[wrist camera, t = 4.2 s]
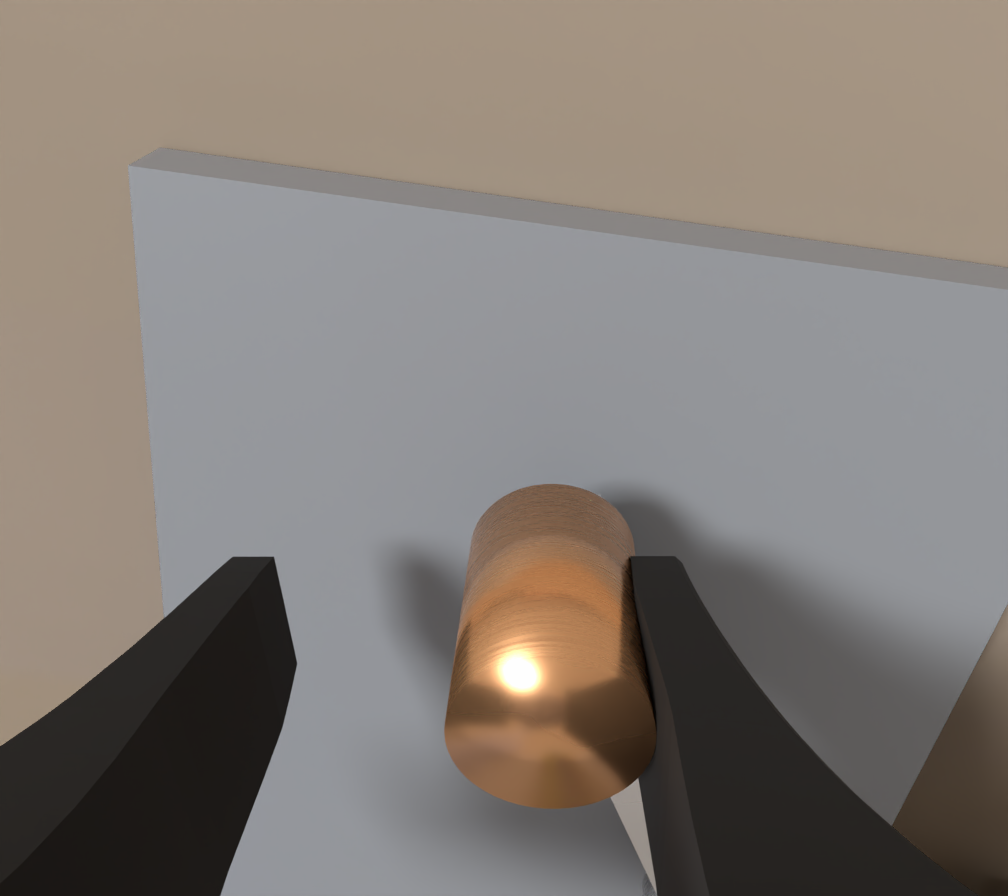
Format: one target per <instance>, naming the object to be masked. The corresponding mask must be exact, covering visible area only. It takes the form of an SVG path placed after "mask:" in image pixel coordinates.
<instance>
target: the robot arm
mask: <svg viewBox="0 0 1008 896" xmlns="http://www.w3.org/2000/svg"><path fill="white" fill-rule="evenodd" d="M630 559H631V569H632V579H633V589H634V599H635V607H636V612H637V617H638V623H639V628H640V633H641V639H642V644H643V650H644V655H645V660H646V666H647V672H648V678H649V684H650V690H651V696H652V702H653V709H654V718H655V726H656V746H655V750H654V754H653V756H652V758H651V761H650V763H649V764H648V766H647V767H646V769H645V770H644V772H643V773H642V774H641V775H640V776H639V777H638V779H639V785H640V791H641V798H642V804H643V810H644V816H645V822H646V828H647V834H648V840H649V846H650V852H651V858H652V864H653V870H654V876H655V882H656V890H657V896H978V895H977V894H976V893H974V892H973V891H971V890H970V889H968V888H967V887H966V886H964V885H963V884H962V883H960V882H959V881H958V880H956V879H955V878H954V877H952V876H951V875H950V874H949V873H947V872H946V871H945V870H944V869H942V868H941V867H940V866H939V865H937V864H936V863H935V862H933V861H932V860H931V859H930V858H928V857H927V856H926V855H925V854H923V853H922V852H921V851H920V850H918V849H917V848H916V847H915V846H914V845H912V844H911V843H910V842H909V841H908V840H907V839H906V838H905V837H903V836H902V835H901V834H900V833H899V832H898V831H897V830H896V829H894V828H893V827H892V826H891V825H890V824H889V823H888V822H887V821H885V820H884V819H883V818H882V817H881V816H880V815H879V814H878V813H876V812H875V811H874V810H873V809H872V808H871V807H870V806H869V805H867V804H866V803H865V802H864V801H863V800H862V799H861V798H860V797H859V796H858V795H856V794H855V793H854V792H853V791H852V790H851V789H850V788H849V787H848V786H847V785H846V784H845V783H844V782H843V781H842V780H841V779H840V778H839V777H838V776H837V775H836V774H835V773H834V772H833V771H832V770H831V769H830V768H829V767H828V766H827V765H826V764H825V763H824V761H823V760H822V759H821V758H820V757H819V756H818V755H817V754H816V753H815V752H814V751H813V750H812V748H811V747H810V746H809V745H808V744H807V743H806V742H805V741H804V740H803V739H802V738H801V737H800V735H799V734H798V733H797V732H796V731H795V730H794V728H793V727H792V726H791V725H790V724H789V723H788V721H787V720H786V719H785V718H784V717H783V715H782V714H781V713H780V712H779V711H778V709H777V708H776V707H775V706H774V704H773V703H772V702H771V701H770V699H769V698H768V697H767V696H766V694H765V693H764V692H763V690H762V689H761V688H760V687H759V685H758V684H757V683H756V681H755V680H754V679H753V677H752V676H751V675H750V673H749V672H748V671H747V669H746V668H745V667H744V665H743V664H742V662H741V661H740V659H739V658H738V656H737V655H736V653H735V652H734V651H733V649H732V648H731V646H730V645H729V643H728V642H727V640H726V639H725V638H724V636H723V635H722V633H721V631H720V630H719V628H718V627H717V625H716V624H715V622H714V620H713V619H712V617H711V616H710V614H709V612H708V611H707V609H706V607H705V606H704V604H703V602H702V600H701V599H700V597H699V595H698V593H697V592H696V590H695V588H694V586H693V584H692V582H691V580H690V578H689V576H688V574H687V572H686V570H685V568H684V566H683V563H682V562H681V561H680V560H679V559H678V558H676V557H675V556H630ZM296 667H297V659H296V655H295V650H294V646H293V641H292V637H291V632H290V627H289V623H288V618H287V614H286V609H285V604H284V600H283V595H282V591H281V586H280V582H279V577H278V572H277V568H276V563H275V559H274V557H232V558H231V559H229V560H228V561H227V562H226V563H225V564H223V565H222V566H221V567H220V568H219V569H218V570H217V571H215V572H214V573H213V574H212V575H211V576H210V577H209V578H208V579H207V580H206V581H204V582H203V583H202V584H201V585H200V586H199V587H198V588H197V589H196V590H195V591H194V592H192V593H191V594H190V595H189V596H188V597H187V598H186V599H185V600H184V601H183V602H182V603H180V604H179V605H178V606H177V607H176V608H175V609H174V610H173V611H172V612H171V613H169V614H168V615H167V616H166V617H165V618H164V619H163V620H162V621H160V622H159V623H158V624H157V625H156V626H155V627H154V628H153V629H151V630H150V631H149V632H148V633H147V634H146V635H145V636H144V637H142V638H141V639H140V640H139V641H138V642H137V643H136V644H135V645H133V646H132V647H131V648H130V649H129V650H127V651H126V652H125V653H124V654H123V655H121V656H120V657H119V658H118V659H116V660H115V661H114V662H113V663H111V664H110V665H109V666H108V667H107V668H105V669H104V670H103V671H102V672H100V673H99V674H98V675H97V676H95V677H94V678H93V679H92V680H91V681H89V682H88V683H87V684H86V685H84V686H83V687H82V688H81V689H79V690H78V691H77V692H76V693H75V694H73V695H72V696H71V697H69V698H68V699H67V700H65V701H64V702H63V703H61V704H60V705H59V706H57V707H56V708H55V709H53V710H52V711H51V712H49V713H48V714H46V715H45V716H44V717H42V718H41V719H40V720H38V721H37V722H35V723H34V724H32V725H31V726H29V727H28V728H26V729H25V730H24V731H22V732H21V733H19V734H18V735H16V736H15V737H13V738H12V739H10V740H9V741H8V742H6V743H5V744H3V745H2V746H0V896H220V895H221V892H222V889H223V886H224V883H225V880H226V877H227V874H228V871H229V869H230V866H231V863H232V861H233V858H234V855H235V853H236V850H237V848H238V845H239V842H240V840H241V837H242V834H243V832H244V829H245V827H246V824H247V821H248V819H249V816H250V813H251V811H252V808H253V806H254V803H255V800H256V798H257V795H258V792H259V790H260V787H261V785H262V782H263V779H264V777H265V774H266V771H267V769H268V766H269V763H270V760H271V758H272V755H273V752H274V750H275V747H276V744H277V742H278V739H279V736H280V733H281V730H282V728H283V723H284V719H285V715H286V711H287V707H288V703H289V699H290V695H291V690H292V686H293V681H294V676H295V672H296Z"/></svg>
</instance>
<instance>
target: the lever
mask: <svg viewBox="0 0 1008 896" xmlns="http://www.w3.org/2000/svg"><path fill="white" fill-rule="evenodd" d="M630 556H635V549H634V541H633V537H632V533H631V531H630V528H629V526H628V524H627V522H626V521H625V519H624V518H623V516H622V515H621V514H620V513H619V512H618V511H617V510H616V508H615V507H613V506H612V505H611V504H610V503H609V502H607V501H606V500H604V499H603V498H602V495H601V494H599V495H596V494H594V493H592V492H590V491H587V490H584V489H581V488H578V487H574V486H569V485H562V484H541V485H533V486H529V487H525V488H521V489H519V490H516V491H513V492H511V493H509V494H507V495H505V496H503V497H502V498H500V499H499V500H497V501H496V502H495V503H494V504H492V505H491V506H490V507H489V508H488V509H487V510H486V511H485V513H484V514H483V515H482V516H481V518H480V519H479V521H478V523H477V524H476V527H475V529H474V531H473V535H472V539H471V545H470V552H469V559H468V566H467V573H466V580H465V587H464V593H463V600H462V607H461V614H460V621H459V628H458V635H457V642H456V649H455V656H454V663H453V670H452V676H451V683H450V690H449V697H448V704H447V711H446V718H445V727H444V735H445V743H446V746H447V750H448V752H449V754H450V756H451V759H452V760H453V762H454V763H455V765H456V766H457V768H458V769H459V770H460V771H461V772H462V774H463V775H464V776H465V777H466V778H467V779H469V780H470V781H471V782H472V783H473V784H475V785H476V786H478V787H479V788H481V789H482V790H484V791H485V792H487V793H489V794H491V795H493V796H495V797H497V798H500V799H502V800H505V801H508V802H511V803H515V804H518V805H523V806H528V807H534V808H543V809H563V808H573V807H580V806H585V805H589V804H593V803H596V802H599V801H602V800H604V799H607V798H609V797H611V799H612V802H613V804H614V806H615V808H616V810H617V812H618V814H619V816H620V818H621V821H622V823H623V825H624V827H625V829H626V831H627V833H628V835H629V837H630V839H631V842H632V844H633V846H634V848H635V850H636V852H637V854H638V856H639V858H640V861H641V863H642V865H643V867H644V869H645V871H646V874H645V876H644V878H643V882H642V896H657V890H656V882H655V876H654V870H653V864H652V858H651V852H650V846H649V840H648V834H647V828H646V822H645V816H644V810H643V804H642V798H641V791H640V785H639V779H638V777H639V776H640V775H641V774H642V773H643V772H644V770H645V769H646V767H647V766H648V764H649V763H650V761H651V758H652V756H653V754H654V750H655V746H656V726H655V718H654V709H653V702H652V696H651V690H650V684H649V678H648V672H647V666H646V660H645V655H644V650H643V644H642V639H641V633H640V628H639V623H638V617H637V612H636V607H635V599H634V589H633V579H632V569H631V559H630Z"/></svg>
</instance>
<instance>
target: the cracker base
mask: <svg viewBox="0 0 1008 896" xmlns="http://www.w3.org/2000/svg"><path fill="white" fill-rule="evenodd" d="M128 172H129V185H130V197H131V210H132V222H133V235H134V247H135V260H136V272H137V285H138V297H139V310H140V323H141V335H142V348H143V360H144V373H145V385H146V398H147V410H148V423H149V436H150V448H151V461H152V473H153V486H154V498H155V511H156V523H157V536H158V548H159V561H160V574H161V586H162V599H163V611H164V618H165V617H166V616H167V615H168V614H169V613H171V612H172V611H173V610H174V609H175V608H176V607H177V606H178V605H179V604H180V603H182V602H183V601H184V600H185V599H186V598H187V597H188V596H189V595H190V594H191V593H192V592H194V591H195V590H196V589H197V588H198V587H199V586H200V585H201V584H202V583H203V582H204V581H206V580H207V579H208V578H209V577H210V576H211V575H212V574H213V573H214V572H215V571H217V570H218V569H219V568H220V567H221V566H222V565H223V564H225V563H226V562H227V561H228V560H229V559H231V558H232V557H274V559H275V563H276V568H277V572H278V577H279V582H280V586H281V591H282V595H283V600H284V604H285V609H286V614H287V618H288V623H289V627H290V632H291V637H292V641H293V646H294V650H295V655H296V659H297V667H296V672H295V676H294V681H293V686H292V690H291V695H290V699H289V703H288V707H287V711H286V715H285V719H284V723H283V728H282V730H281V733H280V736H279V739H278V742H277V744H276V747H275V750H274V752H273V755H272V758H271V760H270V763H269V766H268V769H267V771H266V774H265V777H264V779H263V782H262V785H261V787H260V790H259V792H258V795H257V798H256V800H255V803H254V806H253V808H252V811H251V813H250V816H249V819H248V821H247V824H246V827H245V829H244V832H243V834H242V837H241V840H240V842H239V845H238V848H237V850H236V853H235V855H234V858H233V861H232V863H231V866H230V869H229V871H228V874H227V877H226V880H225V883H224V886H223V889H222V892H221V895H220V896H642V882H643V878H644V876H645V874H646V871H645V869H644V867H643V865H642V863H641V861H640V858H639V856H638V854H637V852H636V850H635V848H634V846H633V844H632V842H631V839H630V837H629V835H628V833H627V831H626V829H625V827H624V825H623V823H622V821H621V818H620V816H619V814H618V812H617V810H616V808H615V806H614V804H613V802H612V799H611V797H609V798H607V799H604V800H602V801H599V802H596V803H593V804H589V805H585V806H580V807H573V808H563V809H543V808H534V807H528V806H523V805H518V804H515V803H511V802H508V801H505V800H502V799H500V798H497V797H495V796H493V795H491V794H489V793H487V792H485V791H484V790H482V789H481V788H479V787H478V786H476V785H475V784H473V783H472V782H471V781H470V780H469V779H467V778H466V777H465V776H464V775H463V774H462V772H461V771H460V770H459V769H458V768H457V766H456V765H455V763H454V762H453V760H452V759H451V756H450V754H449V752H448V750H447V746H446V743H445V735H444V727H445V718H446V711H447V704H448V697H449V690H450V683H451V676H452V670H453V663H454V656H455V649H456V642H457V635H458V628H459V621H460V614H461V607H462V600H463V593H464V587H465V580H466V573H467V566H468V559H469V552H470V545H471V539H472V535H473V531H474V529H475V527H476V524H477V523H478V521H479V519H480V518H481V516H482V515H483V514H484V513H485V511H486V510H487V509H488V508H489V507H490V506H491V505H492V504H494V503H495V502H496V501H497V500H499V499H500V498H502V497H503V496H505V495H507V494H509V493H511V492H513V491H516V490H519V489H521V488H525V487H529V486H533V485H541V484H562V485H569V486H574V487H578V488H581V489H584V490H587V491H590V492H592V493H594V494H596V495H599V494H601V495H602V498H603V499H604V500H606V501H607V502H609V503H610V504H611V505H612V506H613V507H615V508H616V510H617V511H618V512H619V513H620V514H621V515H622V516H623V518H624V519H625V521H626V522H627V524H628V526H629V528H630V531H631V533H632V537H633V541H634V549H635V556H675V557H676V558H678V559H679V560H680V561H681V562H682V563H683V566H684V568H685V570H686V572H687V574H688V576H689V578H690V580H691V582H692V584H693V586H694V588H695V590H696V592H697V593H698V595H699V597H700V599H701V600H702V602H703V604H704V606H705V607H706V609H707V611H708V612H709V614H710V616H711V617H712V619H713V620H714V622H715V624H716V625H717V627H718V628H719V630H720V631H721V633H722V635H723V636H724V638H725V639H726V640H727V642H728V643H729V645H730V646H731V648H732V649H733V651H734V652H735V653H736V655H737V656H738V658H739V659H740V661H741V662H742V664H743V665H744V667H745V668H746V669H747V671H748V672H749V673H750V675H751V676H752V677H753V679H754V680H755V681H756V683H757V684H758V685H759V687H760V688H761V689H762V690H763V692H764V693H765V694H766V696H767V697H768V698H769V699H770V701H771V702H772V703H773V704H774V706H775V707H776V708H777V709H778V711H779V712H780V713H781V714H782V715H783V717H784V718H785V719H786V720H787V721H788V723H789V724H790V725H791V726H792V727H793V728H794V730H795V731H796V732H797V733H798V734H799V735H800V737H801V738H802V739H803V740H804V741H805V742H806V743H807V744H808V745H809V746H810V747H811V748H812V750H813V751H814V752H815V753H816V754H817V755H818V756H819V757H820V758H821V759H822V760H823V761H824V763H825V764H826V765H827V766H828V767H829V768H830V769H831V770H832V771H833V772H834V773H835V774H836V775H837V776H838V777H839V778H840V779H841V780H842V781H843V782H844V783H845V784H846V785H847V786H848V787H849V788H850V789H851V790H852V791H853V792H854V793H855V794H856V795H858V796H859V797H860V798H861V799H862V800H863V801H864V802H865V803H866V804H867V805H869V806H870V807H871V808H872V809H873V810H874V811H875V812H876V813H878V814H879V815H880V816H881V817H882V818H883V819H884V820H885V821H887V822H888V823H889V824H890V825H891V826H892V824H893V823H894V821H895V819H896V817H897V815H898V813H899V811H900V809H901V807H902V805H903V803H904V801H905V800H906V798H907V796H908V794H909V792H910V790H911V788H912V786H913V784H914V782H915V780H916V778H917V777H918V775H919V773H920V771H921V769H922V767H923V765H924V763H925V761H926V759H927V757H928V755H929V754H930V752H931V750H932V748H933V746H934V744H935V742H936V740H937V738H938V736H939V734H940V732H941V731H942V729H943V727H944V725H945V723H946V721H947V719H948V717H949V715H950V713H951V711H952V709H953V708H954V706H955V704H956V702H957V700H958V698H959V696H960V694H961V692H962V690H963V688H964V686H965V685H966V683H967V681H968V679H969V677H970V675H971V673H972V671H973V669H974V667H975V665H976V663H977V662H978V660H979V658H980V656H981V654H982V652H983V650H984V648H985V646H986V644H987V642H988V640H989V639H990V637H991V635H992V633H993V631H994V629H995V627H996V625H997V623H998V621H999V619H1000V617H1001V616H1002V614H1003V612H1004V610H1005V608H1006V606H1007V604H1008V268H1007V267H999V266H992V265H985V264H978V263H971V262H964V261H957V260H950V259H943V258H936V257H929V256H922V255H915V254H908V253H901V252H894V251H887V250H879V249H872V248H865V247H858V246H851V245H844V244H837V243H830V242H823V241H816V240H809V239H802V238H795V237H788V236H781V235H774V234H766V233H759V232H752V231H745V230H738V229H731V228H724V227H717V226H710V225H703V224H696V223H689V222H682V221H675V220H668V219H661V218H654V217H646V216H639V215H632V214H625V213H618V212H611V211H604V210H597V209H590V208H583V207H576V206H569V205H562V204H555V203H548V202H541V201H534V200H526V199H519V198H512V197H505V196H498V195H491V194H484V193H477V192H470V191H463V190H456V189H449V188H442V187H435V186H428V185H421V184H414V183H406V182H399V181H392V180H385V179H378V178H371V177H364V176H357V175H350V174H343V173H336V172H329V171H322V170H315V169H308V168H301V167H293V166H286V165H279V164H272V163H265V162H258V161H251V160H244V159H237V158H230V157H223V156H216V155H209V154H202V153H195V152H188V151H181V150H173V149H166V148H158V149H157V150H155V151H153V152H151V153H150V154H148V155H146V156H144V157H142V158H141V159H139V160H137V161H135V162H133V163H132V164H130V165H128Z"/></svg>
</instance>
